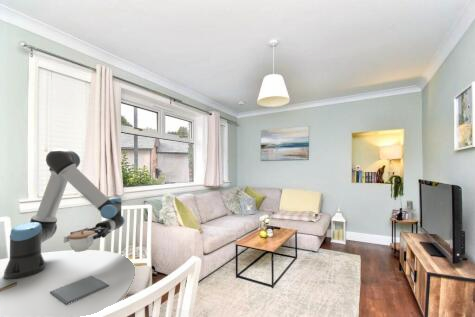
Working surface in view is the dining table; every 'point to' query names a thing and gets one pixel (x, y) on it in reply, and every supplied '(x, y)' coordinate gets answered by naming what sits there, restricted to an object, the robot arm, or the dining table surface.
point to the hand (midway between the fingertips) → (76, 239)
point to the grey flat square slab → (78, 289)
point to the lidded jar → (80, 240)
